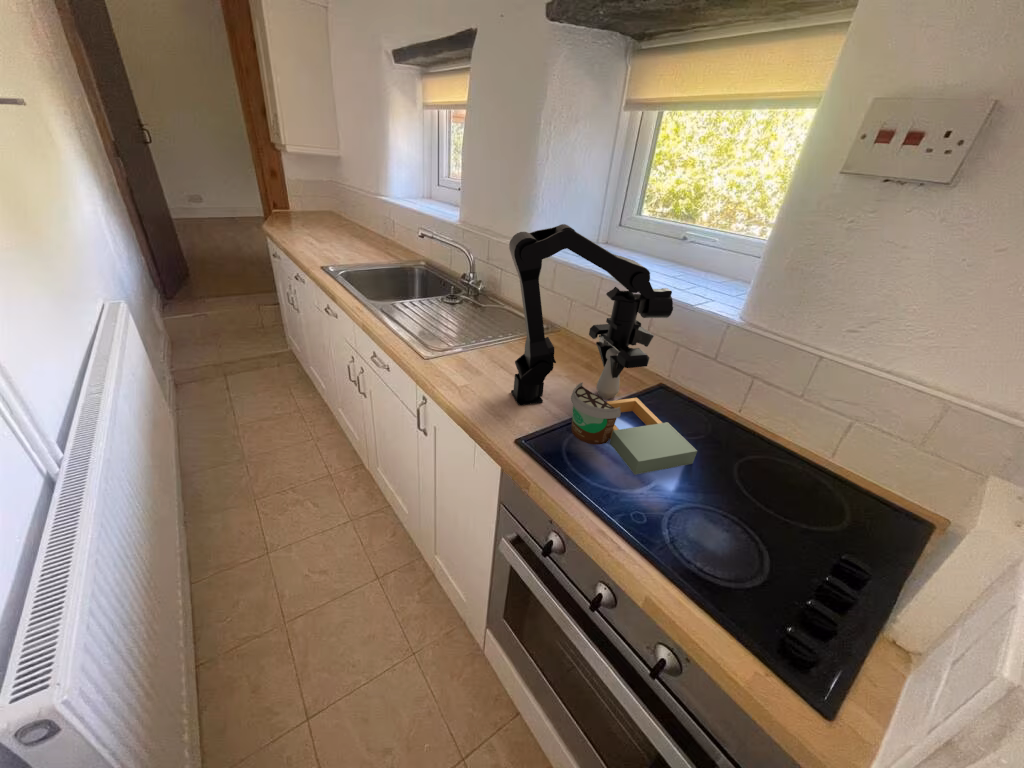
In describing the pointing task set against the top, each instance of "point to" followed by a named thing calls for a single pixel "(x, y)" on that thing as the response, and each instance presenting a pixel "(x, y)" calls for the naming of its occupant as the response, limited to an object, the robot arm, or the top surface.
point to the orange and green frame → (649, 441)
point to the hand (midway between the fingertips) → (610, 375)
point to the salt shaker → (608, 379)
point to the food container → (592, 416)
